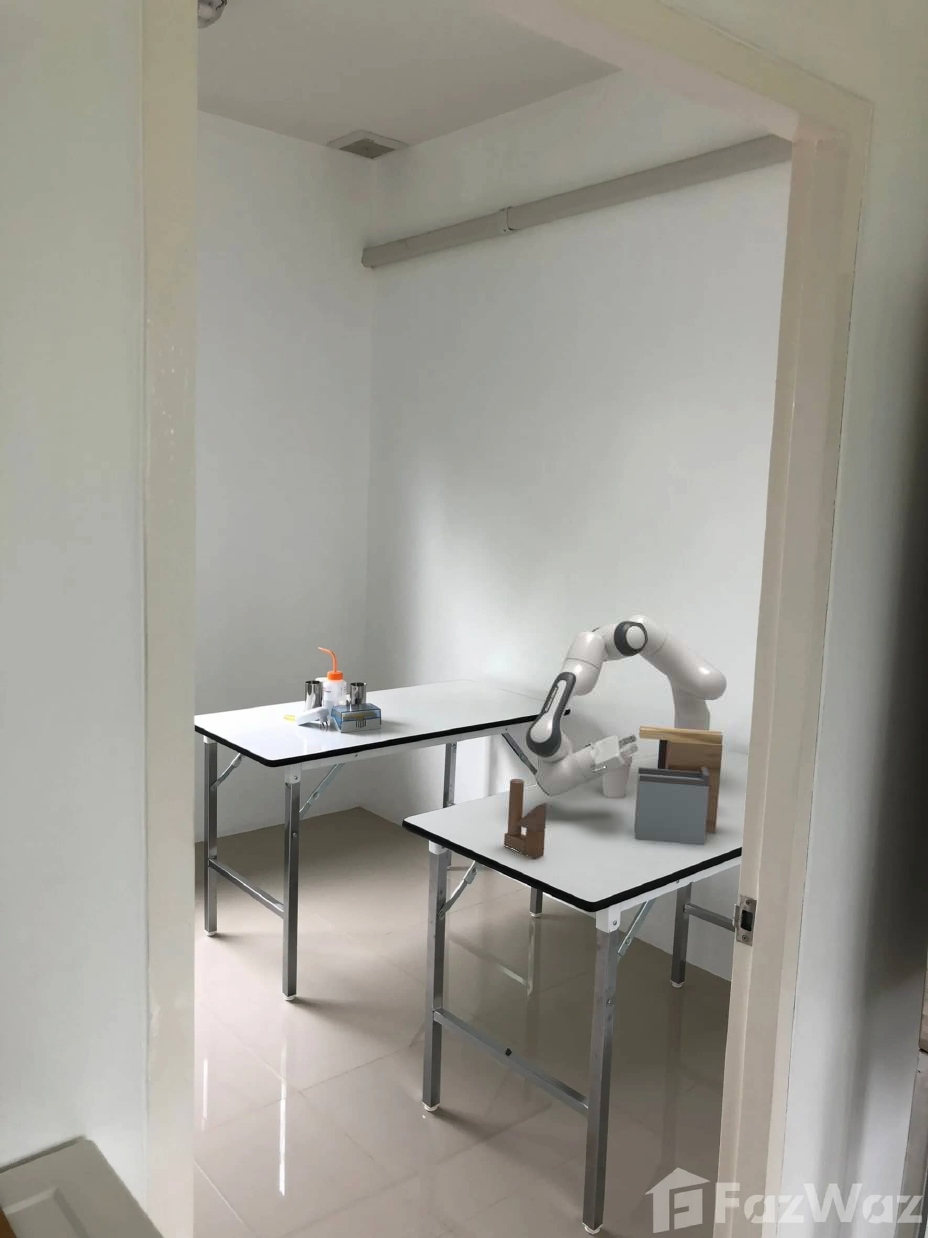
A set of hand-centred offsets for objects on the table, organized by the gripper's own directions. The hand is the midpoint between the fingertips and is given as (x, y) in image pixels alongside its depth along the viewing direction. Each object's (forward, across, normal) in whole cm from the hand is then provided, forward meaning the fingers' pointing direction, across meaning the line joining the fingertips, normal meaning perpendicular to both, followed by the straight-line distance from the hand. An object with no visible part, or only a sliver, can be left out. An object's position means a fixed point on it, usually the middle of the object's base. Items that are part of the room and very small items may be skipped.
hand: (636, 741), depth 265 cm
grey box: (-3, -8, +25) cm, 27 cm away
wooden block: (-36, -27, +6) cm, 46 cm away
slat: (+11, 0, +5) cm, 12 cm away
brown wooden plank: (+2, 0, +28) cm, 28 cm away
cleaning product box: (+2, +19, +28) cm, 34 cm away
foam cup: (-16, +23, +18) cm, 33 cm away
